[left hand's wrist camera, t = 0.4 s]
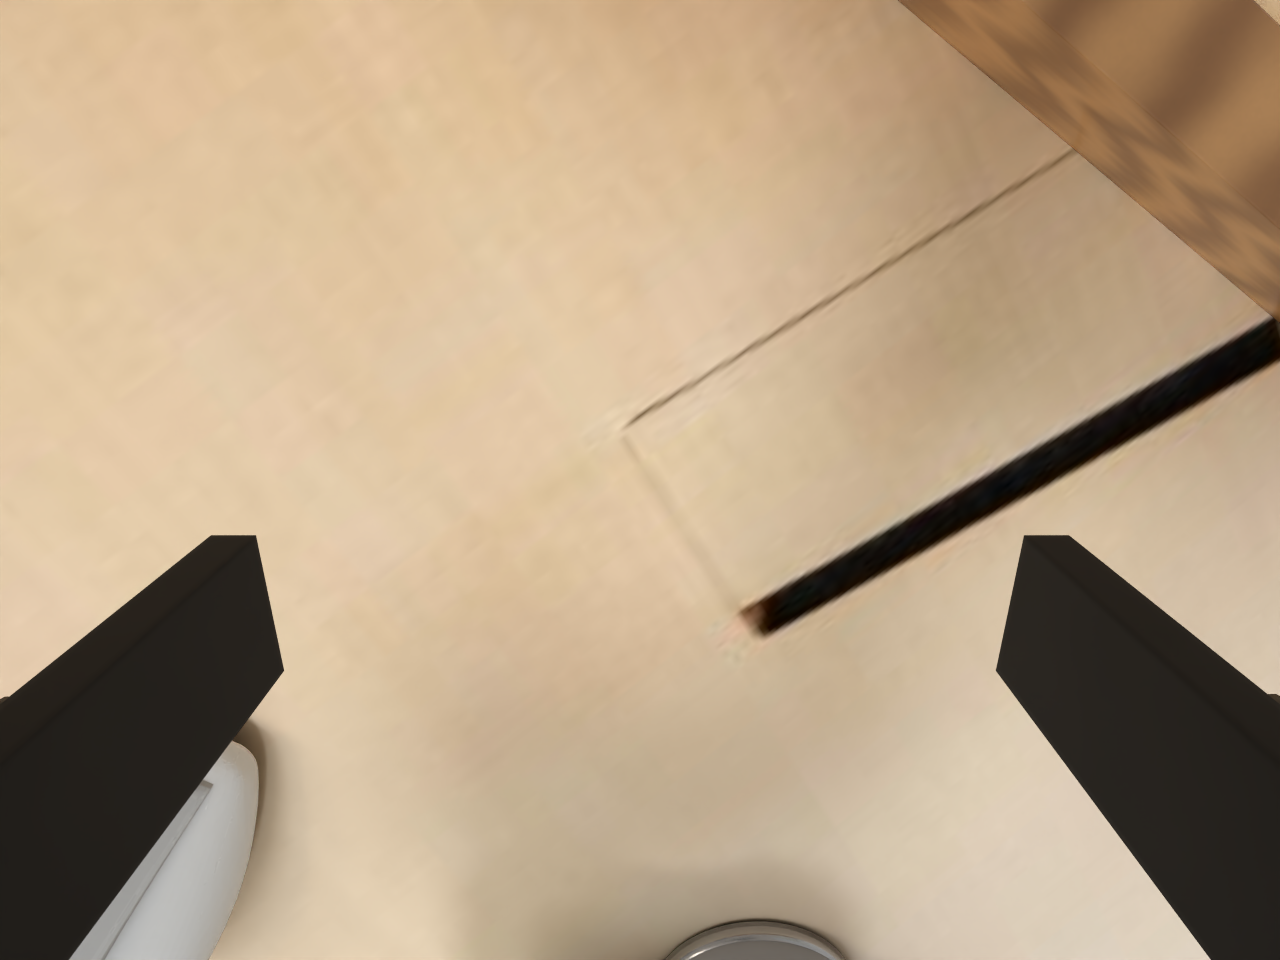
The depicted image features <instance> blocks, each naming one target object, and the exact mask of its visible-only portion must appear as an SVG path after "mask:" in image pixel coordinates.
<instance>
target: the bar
mask: <svg viewBox="0 0 1280 960" xmlns="http://www.w3.org/2000/svg"><path fill="white" fill-rule="evenodd" d="M898 1H900V2H901V3H902V4H903V5H904V6H905V7H907V8H908V9H909V10H910V11H911V12H913V13H914V14H915V15H916V16H917V17H918V18H920V19H921V20H922V21H923V22H924V23H926V24H927V25H928V26H929V27H930V28H931V29H933V30H934V31H935V32H936V33H937V34H939V35H940V36H941V37H942V38H943V39H945V40H946V41H947V42H948V43H949V44H950V45H952V46H953V47H954V48H955V49H956V50H958V51H959V52H960V53H961V54H962V55H963V56H965V57H966V58H967V59H968V60H969V61H971V62H972V63H973V64H974V65H975V66H976V67H978V68H979V69H980V70H981V71H982V72H984V73H985V74H986V75H987V76H988V77H989V78H991V79H992V80H993V81H994V82H995V83H997V84H998V85H999V86H1000V87H1001V88H1003V89H1004V90H1005V91H1006V92H1007V93H1008V94H1010V95H1011V96H1012V97H1013V98H1014V99H1016V100H1017V101H1018V102H1019V103H1020V104H1021V105H1023V106H1024V107H1025V108H1026V109H1027V110H1029V111H1030V112H1031V113H1032V114H1033V115H1034V116H1036V117H1037V118H1038V119H1039V120H1040V121H1042V122H1043V123H1044V124H1045V125H1046V126H1048V127H1049V128H1050V129H1051V130H1052V131H1053V132H1055V133H1056V134H1057V135H1058V136H1059V137H1061V138H1062V139H1063V140H1064V141H1065V142H1066V143H1068V144H1069V145H1070V146H1071V147H1072V148H1074V149H1075V150H1076V151H1077V152H1078V153H1079V154H1081V155H1082V156H1083V157H1084V158H1085V159H1087V160H1088V161H1089V162H1090V163H1091V164H1092V165H1094V166H1095V167H1096V168H1097V169H1098V170H1100V171H1101V172H1102V173H1103V174H1104V175H1106V176H1107V177H1108V178H1109V179H1110V180H1111V181H1113V182H1114V183H1115V184H1116V185H1117V186H1119V187H1120V188H1121V189H1122V190H1123V191H1124V192H1126V193H1127V194H1128V195H1129V196H1130V197H1132V198H1133V199H1134V200H1135V201H1136V202H1137V203H1139V204H1140V205H1141V206H1142V207H1143V208H1145V209H1146V210H1147V211H1148V212H1149V213H1151V214H1152V215H1153V216H1154V217H1155V218H1156V219H1158V220H1159V221H1160V222H1161V223H1162V224H1164V225H1165V226H1166V227H1167V228H1168V229H1169V230H1171V231H1172V232H1173V233H1174V234H1175V235H1177V236H1178V237H1179V238H1180V239H1181V240H1182V241H1184V242H1185V243H1186V244H1187V245H1188V246H1190V247H1191V248H1192V249H1193V250H1194V251H1195V252H1197V253H1198V254H1199V255H1200V256H1201V257H1203V258H1204V259H1205V260H1206V261H1207V262H1209V263H1210V264H1211V265H1212V266H1213V267H1214V268H1216V269H1217V270H1218V271H1219V272H1220V273H1222V274H1223V275H1224V276H1225V277H1226V278H1227V279H1229V280H1230V281H1231V282H1232V283H1233V284H1235V285H1236V286H1237V287H1238V288H1239V289H1240V290H1242V291H1243V292H1244V293H1245V294H1246V295H1248V296H1249V297H1250V298H1251V299H1252V300H1254V301H1255V302H1256V303H1257V304H1258V305H1259V306H1261V307H1262V308H1263V309H1264V310H1265V311H1267V312H1268V313H1269V314H1270V315H1271V316H1272V317H1274V318H1275V319H1276V320H1277V321H1278V322H1280V25H1279V24H1278V23H1277V22H1276V21H1275V20H1274V19H1273V18H1272V17H1271V16H1269V15H1268V14H1267V13H1266V12H1265V11H1264V10H1263V9H1262V8H1261V7H1260V6H1259V5H1258V4H1257V3H1256V2H1255V1H1254V0H898Z"/></svg>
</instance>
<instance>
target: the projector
mask: <svg viewBox="0 0 1280 960" xmlns="http://www.w3.org/2000/svg"><path fill="white" fill-rule="evenodd" d="M258 792H259V778H258V766H257V762H256V759H255V757H254V756H253V755H252V753H251V752H250V751H249V750H248V749H247V748H245V747H244V746H242V745H241V744H239V743H236V742H234V741H231V743H230V744H229V745H228V747H227V748H226V749H225V751H224V752H223V753H222V755H221V756H220V757H219V759H218V760H217V762H216V763H215V764H214V766H213V767H212V768H211V770H210V771H209V772H208V774H207V775H206V776H205V778H204V779H203V780H202V782H201V783H200V784H199V786H198V787H197V788H196V790H195V791H194V792H193V794H192V795H191V796H190V798H189V799H188V800H187V802H186V803H185V805H184V806H183V807H182V809H181V810H180V811H179V813H178V814H177V815H176V817H175V818H174V819H173V821H172V822H171V823H170V825H169V826H168V827H167V829H166V830H165V831H164V833H163V834H162V835H161V837H160V838H159V839H158V841H157V842H156V844H155V845H154V846H153V848H152V849H151V850H150V852H149V853H148V854H147V856H146V857H145V858H144V860H143V861H142V862H141V864H140V865H139V866H138V868H137V869H136V870H135V872H134V873H133V874H132V876H131V877H130V878H129V880H128V881H127V882H126V884H125V885H124V887H123V888H122V889H121V891H120V892H119V893H118V895H117V896H116V897H115V899H114V900H113V901H112V903H111V904H110V905H109V907H108V908H107V909H106V911H105V912H104V913H103V915H102V916H101V917H100V919H99V920H98V921H97V923H96V924H95V925H94V927H93V928H92V930H91V931H90V932H89V934H88V935H87V936H86V938H85V939H84V940H83V942H82V943H81V944H80V946H79V947H78V948H77V950H76V951H75V952H74V954H73V955H72V956H71V958H70V959H69V960H209V958H210V956H211V954H212V952H213V951H214V949H215V947H216V945H217V943H218V941H219V938H220V936H221V934H222V932H223V930H224V928H225V926H226V924H227V921H228V919H229V917H230V914H231V912H232V910H233V907H234V905H235V902H236V900H237V897H238V894H239V891H240V888H241V885H242V882H243V879H244V876H245V872H246V869H247V865H248V861H249V857H250V852H251V847H252V843H253V837H254V830H255V824H256V816H257V807H258Z"/></svg>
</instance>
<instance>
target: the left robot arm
mask: <svg viewBox="0 0 1280 960" xmlns="http://www.w3.org/2000/svg"><path fill="white" fill-rule="evenodd" d="M283 671H284V668H283V663H282V658H281V654H280V649H279V644H278V639H277V634H276V630H275V625H274V620H273V615H272V610H271V606H270V601H269V596H268V591H267V587H266V582H265V577H264V572H263V567H262V563H261V558H260V553H259V548H258V543H257V539H256V535H211V536H210V537H208V538H207V539H206V540H205V541H203V542H202V543H201V544H200V545H198V546H197V547H196V548H195V549H193V550H192V551H191V552H190V553H188V554H187V555H186V556H185V557H183V558H182V559H181V560H180V561H178V562H177V563H176V564H175V565H173V566H172V567H171V568H170V569H168V570H167V571H166V572H165V573H163V574H162V575H161V576H160V577H158V578H157V579H156V580H155V581H153V582H152V583H151V584H150V585H148V586H147V587H146V588H145V589H143V590H142V591H141V592H140V593H138V594H137V595H136V596H135V597H133V598H132V599H131V600H130V601H128V602H127V603H126V604H125V605H123V606H122V607H121V608H120V609H118V610H117V611H116V612H115V613H113V614H112V615H111V616H110V617H108V618H107V619H106V620H105V621H103V622H102V623H101V624H100V625H98V626H97V627H96V628H95V629H93V630H92V631H91V632H90V633H88V634H87V635H86V636H85V637H83V638H82V639H81V640H80V641H78V642H77V643H76V644H75V645H73V646H72V647H71V648H70V649H68V650H67V651H66V652H65V653H63V654H62V655H61V656H60V657H58V658H57V659H56V660H55V661H53V662H52V663H51V664H50V665H48V666H47V667H46V668H45V669H43V670H42V671H41V672H40V673H38V674H37V675H36V676H35V677H33V678H32V679H31V680H30V681H28V682H27V683H26V684H25V685H23V686H22V687H21V688H20V689H18V690H17V691H16V692H15V693H13V694H12V695H11V696H10V697H3V698H2V699H0V960H69V959H70V958H71V956H72V955H73V954H74V952H75V951H76V950H77V948H78V947H79V946H80V944H81V943H82V942H83V940H84V939H85V938H86V936H87V935H88V934H89V932H90V931H91V930H92V928H93V927H94V925H95V924H96V923H97V921H98V920H99V919H100V917H101V916H102V915H103V913H104V912H105V911H106V909H107V908H108V907H109V905H110V904H111V903H112V901H113V900H114V899H115V897H116V896H117V895H118V893H119V892H120V891H121V889H122V888H123V887H124V885H125V884H126V882H127V881H128V880H129V878H130V877H131V876H132V874H133V873H134V872H135V870H136V869H137V868H138V866H139V865H140V864H141V862H142V861H143V860H144V858H145V857H146V856H147V854H148V853H149V852H150V850H151V849H152V848H153V846H154V845H155V844H156V842H157V841H158V839H159V838H160V837H161V835H162V834H163V833H164V831H165V830H166V829H167V827H168V826H169V825H170V823H171V822H172V821H173V819H174V818H175V817H176V815H177V814H178V813H179V811H180V810H181V809H182V807H183V806H184V805H185V803H186V802H187V800H188V799H189V798H190V796H191V795H192V794H193V792H194V791H195V790H196V788H197V787H198V786H199V784H200V783H201V782H202V780H203V779H204V778H205V776H206V775H207V774H208V772H209V771H210V770H211V768H212V767H213V766H214V764H215V763H216V762H217V760H218V759H219V757H220V756H221V755H222V753H223V752H224V751H225V749H226V748H227V747H228V745H229V744H230V743H231V741H232V740H233V739H234V737H235V736H236V735H237V733H238V732H239V731H240V729H241V728H242V727H243V725H244V724H245V723H246V721H247V720H248V718H249V717H250V716H251V714H252V713H253V712H254V710H255V709H256V708H257V706H258V705H259V704H260V702H261V701H262V700H263V698H264V697H265V696H266V694H267V693H268V692H269V690H270V689H271V688H272V686H273V685H274V684H275V682H276V681H277V680H278V678H279V677H280V675H281V674H282V673H283ZM996 671H997V673H998V674H999V675H1000V677H1001V678H1002V680H1003V681H1004V682H1005V684H1006V685H1007V686H1008V688H1009V689H1010V690H1011V692H1012V693H1013V694H1014V696H1015V697H1016V698H1017V700H1018V701H1019V702H1020V704H1021V705H1022V706H1023V708H1024V709H1025V710H1026V712H1027V713H1028V714H1029V716H1030V717H1031V718H1032V720H1033V721H1034V723H1035V724H1036V725H1037V727H1038V728H1039V729H1040V731H1041V732H1042V733H1043V735H1044V736H1045V737H1046V739H1047V740H1048V741H1049V743H1050V744H1051V745H1052V747H1053V748H1054V749H1055V751H1056V752H1057V753H1058V755H1059V756H1060V757H1061V759H1062V760H1063V762H1064V763H1065V764H1066V766H1067V767H1068V768H1069V770H1070V771H1071V772H1072V774H1073V775H1074V776H1075V778H1076V779H1077V780H1078V782H1079V783H1080V784H1081V786H1082V787H1083V788H1084V790H1085V791H1086V792H1087V794H1088V795H1089V796H1090V798H1091V799H1092V800H1093V802H1094V803H1095V805H1096V806H1097V807H1098V809H1099V810H1100V811H1101V813H1102V814H1103V815H1104V817H1105V818H1106V819H1107V821H1108V822H1109V823H1110V825H1111V826H1112V827H1113V829H1114V830H1115V831H1116V833H1117V834H1118V835H1119V837H1120V838H1121V839H1122V841H1123V842H1124V844H1125V845H1126V846H1127V848H1128V849H1129V850H1130V852H1131V853H1132V854H1133V856H1134V857H1135V858H1136V860H1137V861H1138V862H1139V864H1140V865H1141V866H1142V868H1143V869H1144V870H1145V872H1146V873H1147V874H1148V876H1149V877H1150V878H1151V880H1152V881H1153V882H1154V884H1155V885H1156V887H1157V888H1158V889H1159V891H1160V892H1161V893H1162V895H1163V896H1164V897H1165V899H1166V900H1167V901H1168V903H1169V904H1170V905H1171V907H1172V908H1173V909H1174V911H1175V912H1176V913H1177V915H1178V916H1179V917H1180V919H1181V920H1182V921H1183V923H1184V924H1185V925H1186V927H1187V928H1188V930H1189V931H1190V932H1191V934H1192V935H1193V936H1194V938H1195V939H1196V940H1197V942H1198V943H1199V944H1200V946H1201V947H1202V948H1203V950H1204V951H1205V952H1206V954H1207V955H1208V956H1209V958H1210V959H1211V960H1280V696H1279V695H1277V694H1267V693H1265V692H1264V691H1263V690H1262V689H1260V688H1259V687H1258V686H1257V685H1255V684H1254V683H1253V682H1252V681H1250V680H1249V679H1248V678H1247V677H1245V676H1244V675H1243V674H1242V673H1240V672H1239V671H1238V670H1237V669H1235V668H1234V667H1233V666H1232V665H1230V664H1229V663H1228V662H1227V661H1225V660H1224V659H1223V658H1222V657H1220V656H1219V655H1218V654H1217V653H1215V652H1214V651H1213V650H1212V649H1210V648H1209V647H1208V646H1207V645H1205V644H1204V643H1203V642H1202V641H1200V640H1199V639H1198V638H1197V637H1195V636H1194V635H1193V634H1192V633H1190V632H1189V631H1188V630H1187V629H1185V628H1184V627H1183V626H1182V625H1180V624H1179V623H1178V622H1177V621H1175V620H1174V619H1173V618H1172V617H1170V616H1169V615H1168V614H1167V613H1165V612H1164V611H1163V610H1162V609H1160V608H1159V607H1158V606H1157V605H1155V604H1154V603H1153V602H1152V601H1150V600H1149V599H1148V598H1147V597H1145V596H1144V595H1143V594H1142V593H1140V592H1139V591H1138V590H1137V589H1135V588H1134V587H1133V586H1132V585H1130V584H1129V583H1128V582H1127V581H1125V580H1124V579H1123V578H1122V577H1120V576H1119V575H1118V574H1117V573H1115V572H1114V571H1113V570H1112V569H1110V568H1109V567H1108V566H1107V565H1105V564H1104V563H1103V562H1102V561H1100V560H1099V559H1098V558H1097V557H1095V556H1094V555H1093V554H1092V553H1090V552H1089V551H1088V550H1087V549H1085V548H1084V547H1083V546H1082V545H1080V544H1079V543H1078V542H1077V541H1075V540H1074V539H1073V538H1072V537H1070V536H1069V535H1024V539H1023V543H1022V548H1021V553H1020V558H1019V563H1018V567H1017V572H1016V577H1015V582H1014V587H1013V591H1012V596H1011V601H1010V606H1009V610H1008V615H1007V620H1006V625H1005V630H1004V634H1003V639H1002V644H1001V649H1000V654H999V658H998V663H997V668H996ZM665 960H845V958H844V957H843V956H842V954H841V953H840V952H839V951H838V950H837V949H836V948H835V947H834V946H833V945H832V944H830V943H829V942H828V941H826V940H825V939H823V938H822V937H820V936H818V935H816V934H814V933H812V932H810V931H808V930H805V929H802V928H799V927H796V926H792V925H788V924H783V923H777V922H766V921H752V922H740V923H733V924H728V925H723V926H720V927H716V928H713V929H710V930H707V931H705V932H702V933H700V934H698V935H696V936H694V937H692V938H690V939H689V940H687V941H685V942H684V943H682V944H681V945H680V946H678V947H677V948H676V949H675V950H673V951H672V952H671V953H670V954H669V955H668V956H667V958H666V959H665Z"/></svg>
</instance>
